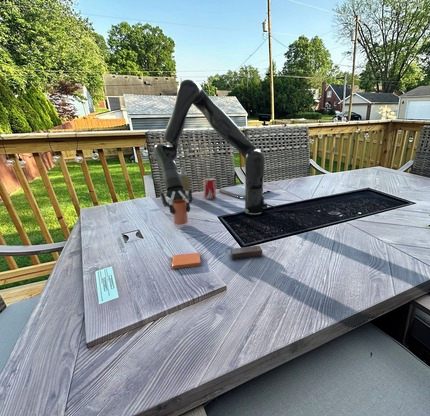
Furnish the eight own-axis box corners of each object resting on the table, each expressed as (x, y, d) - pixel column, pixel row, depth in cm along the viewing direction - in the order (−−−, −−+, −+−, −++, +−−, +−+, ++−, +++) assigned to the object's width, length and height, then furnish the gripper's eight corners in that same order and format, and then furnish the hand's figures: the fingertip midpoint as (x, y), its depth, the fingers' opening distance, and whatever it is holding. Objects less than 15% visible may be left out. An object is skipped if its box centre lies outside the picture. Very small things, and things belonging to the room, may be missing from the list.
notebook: (250, 185, 194) (219, 191, 174) (250, 182, 193) (219, 188, 173) (271, 191, 181) (241, 199, 161) (271, 188, 180) (241, 195, 160)
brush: (259, 251, 100) (259, 245, 99) (262, 257, 97) (262, 250, 96) (230, 255, 97) (230, 248, 96) (232, 260, 93) (232, 253, 92)
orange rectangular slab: (199, 255, 96) (199, 252, 95) (200, 265, 89) (200, 262, 89) (173, 258, 93) (173, 255, 92) (172, 268, 87) (172, 265, 86)
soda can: (212, 200, 157) (212, 180, 153) (202, 198, 158) (201, 179, 154) (217, 196, 163) (217, 178, 159) (207, 195, 165) (206, 177, 161)
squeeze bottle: (193, 195, 164) (192, 166, 158) (185, 198, 157) (183, 169, 151) (182, 193, 166) (180, 165, 160) (174, 196, 159) (172, 167, 153)
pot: (187, 219, 124) (186, 199, 121) (187, 224, 119) (186, 203, 115) (174, 220, 122) (172, 199, 119) (173, 225, 117) (172, 204, 114)
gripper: (156, 177, 116) (164, 211, 111) (189, 175, 123) (198, 206, 118) (155, 186, 122) (163, 218, 117) (187, 183, 129) (195, 213, 124)
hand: (181, 212), depth 117 cm, fingers closed on pot, 6 cm apart
